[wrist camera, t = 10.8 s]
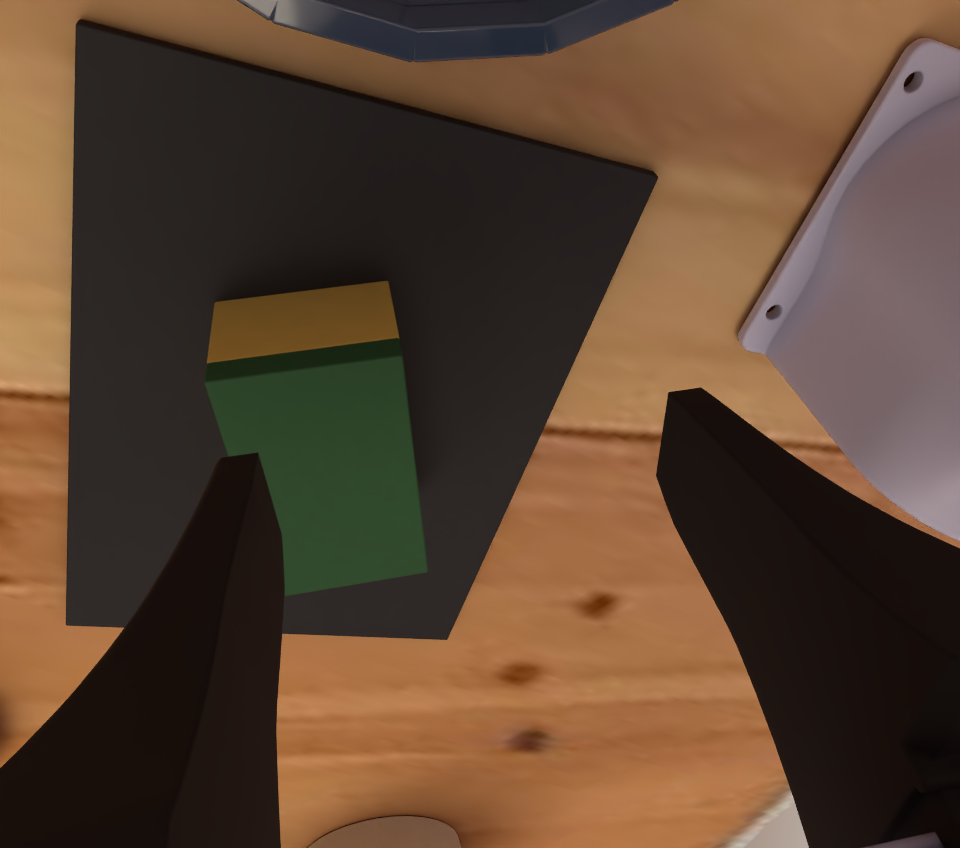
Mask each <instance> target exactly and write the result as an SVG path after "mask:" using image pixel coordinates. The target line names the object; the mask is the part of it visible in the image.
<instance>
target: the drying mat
mask: <svg viewBox="0 0 960 848" xmlns="http://www.w3.org/2000/svg"><path fill="white" fill-rule="evenodd" d="M657 179H658V176H657V175H656V174H655V173H654V172H653V171H650V170H646V169H643V168H639V167H635V166H631V165H628V164H624V163H620V162H616V161H612V160H609V159H605V158H601V157H597V156H594V155H590V154H586V153H582V152H578V151H575V150H571V149H567V148H563V147H560V146H556V145H552V144H548V143H545V142H541V141H537V140H533V139H529V138H526V137H522V136H518V135H514V134H511V133H507V132H503V131H499V130H496V129H492V128H488V127H484V126H480V125H477V124H473V123H469V122H465V121H462V120H458V119H454V118H450V117H447V116H443V115H439V114H435V113H431V112H428V111H424V110H420V109H416V108H413V107H409V106H405V105H401V104H397V103H394V102H390V101H386V100H382V99H379V98H375V97H371V96H367V95H364V94H360V93H356V92H352V91H348V90H345V89H341V88H337V87H333V86H330V85H326V84H322V83H318V82H315V81H311V80H307V79H303V78H299V77H296V76H292V75H288V74H284V73H281V72H277V71H273V70H269V69H266V68H262V67H258V66H254V65H250V64H247V63H243V62H239V61H235V60H232V59H228V58H224V57H220V56H216V55H213V54H209V53H205V52H201V51H198V50H194V49H190V48H186V47H183V46H179V45H175V44H171V43H167V42H164V41H160V40H156V39H152V38H149V37H145V36H141V35H137V34H134V33H130V32H126V31H122V30H118V29H115V28H111V27H107V26H103V25H100V24H96V23H92V22H88V21H85V20H79V21H78V22H77V24H76V47H75V107H74V167H73V228H72V288H71V348H70V409H69V469H68V529H67V589H66V625H70V626H96V627H123V628H125V626H126V625H127V624H128V622H129V621H130V619H131V618H132V616H133V615H134V613H135V612H136V611H137V609H138V608H139V606H140V605H141V603H142V602H143V600H144V599H145V597H146V595H147V594H148V592H149V591H150V589H151V587H152V586H153V584H154V582H155V581H156V579H157V578H158V576H159V574H160V573H161V571H162V570H163V568H164V566H165V565H166V563H167V561H168V560H169V558H170V556H171V554H172V553H173V551H174V549H175V547H176V545H177V543H178V542H179V540H180V538H181V536H182V534H183V532H184V530H185V529H186V527H187V525H188V523H189V521H190V519H191V517H192V515H193V513H194V511H195V509H196V507H197V505H198V503H199V501H200V499H201V497H202V495H203V493H204V490H205V488H206V486H207V484H208V481H209V479H210V477H211V475H212V472H213V470H214V468H215V465H216V463H217V462H218V461H219V460H220V459H221V458H223V457H228V454H227V451H226V448H225V445H224V442H223V439H222V436H221V433H220V430H219V427H218V423H217V420H216V417H215V414H214V411H213V408H212V405H211V402H210V399H209V396H208V392H207V389H206V386H205V383H204V382H205V374H206V366H207V358H208V350H209V343H210V335H211V327H212V319H213V311H214V304H215V302H219V301H227V300H235V299H243V298H251V297H259V296H268V295H276V294H284V293H292V292H300V291H308V290H316V289H324V288H332V287H340V286H348V285H356V284H364V283H372V282H381V281H388V282H389V288H390V293H391V298H392V303H393V308H394V313H395V319H396V324H397V329H398V334H399V340H400V344H401V350H402V355H403V362H404V371H405V379H406V388H407V396H408V404H409V413H410V421H411V430H412V438H413V446H414V455H415V463H416V472H417V480H418V488H419V497H420V505H421V514H422V522H423V530H424V539H425V547H426V556H427V564H428V572H426V573H420V574H414V575H408V576H402V577H396V578H390V579H384V580H378V581H372V582H366V583H360V584H354V585H348V586H342V587H336V588H330V589H324V590H318V591H312V592H306V593H301V594H295V595H289V596H284V611H283V627H282V634H307V635H334V636H360V637H386V638H413V639H439V640H447V639H448V637H449V634H450V632H451V630H452V628H453V626H454V623H455V621H456V619H457V617H458V615H459V613H460V610H461V608H462V606H463V604H464V602H465V599H466V597H467V595H468V593H469V591H470V588H471V586H472V584H473V582H474V580H475V577H476V575H477V573H478V571H479V569H480V567H481V564H482V562H483V560H484V558H485V556H486V553H487V551H488V549H489V547H490V545H491V542H492V540H493V538H494V536H495V534H496V532H497V529H498V527H499V525H500V523H501V521H502V518H503V516H504V514H505V512H506V510H507V507H508V505H509V503H510V501H511V499H512V496H513V494H514V492H515V490H516V488H517V486H518V483H519V481H520V479H521V477H522V475H523V472H524V470H525V468H526V466H527V464H528V461H529V459H530V457H531V455H532V453H533V451H534V448H535V446H536V444H537V442H538V440H539V437H540V435H541V433H542V431H543V429H544V426H545V424H546V422H547V420H548V418H549V416H550V413H551V411H552V409H553V407H554V405H555V402H556V400H557V398H558V396H559V394H560V391H561V389H562V387H563V385H564V383H565V380H566V378H567V376H568V374H569V372H570V370H571V367H572V365H573V363H574V361H575V359H576V356H577V354H578V352H579V350H580V348H581V345H582V343H583V341H584V339H585V337H586V335H587V332H588V330H589V328H590V326H591V324H592V321H593V319H594V317H595V315H596V313H597V310H598V308H599V306H600V304H601V302H602V299H603V297H604V295H605V293H606V291H607V289H608V286H609V284H610V282H611V280H612V278H613V275H614V273H615V271H616V269H617V267H618V264H619V262H620V260H621V258H622V256H623V254H624V251H625V249H626V247H627V245H628V243H629V240H630V238H631V236H632V234H633V232H634V229H635V227H636V225H637V223H638V221H639V218H640V216H641V214H642V212H643V210H644V208H645V205H646V203H647V201H648V199H649V197H650V194H651V192H652V190H653V188H654V186H655V183H656V181H657Z"/></svg>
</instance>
